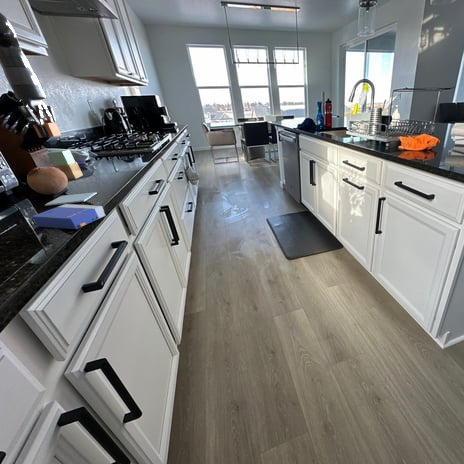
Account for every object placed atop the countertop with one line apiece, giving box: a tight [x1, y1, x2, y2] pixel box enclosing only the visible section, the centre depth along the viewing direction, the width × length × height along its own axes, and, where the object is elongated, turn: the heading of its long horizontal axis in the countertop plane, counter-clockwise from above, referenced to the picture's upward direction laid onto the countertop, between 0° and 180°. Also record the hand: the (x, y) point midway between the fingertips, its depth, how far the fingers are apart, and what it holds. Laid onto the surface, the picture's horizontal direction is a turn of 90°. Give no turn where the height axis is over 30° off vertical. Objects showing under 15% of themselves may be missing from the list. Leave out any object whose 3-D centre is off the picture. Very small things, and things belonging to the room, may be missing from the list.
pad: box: [44, 191, 98, 207], centre depth 78 cm, size 10×8×1 cm
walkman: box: [31, 203, 106, 230], centre depth 62 cm, size 8×3×12 cm
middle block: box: [46, 149, 76, 166], centre depth 98 cm, size 5×5×5 cm
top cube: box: [32, 122, 62, 138], centre depth 93 cm, size 5×5×5 cm
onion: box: [26, 166, 69, 196], centre depth 82 cm, size 10×9×10 cm
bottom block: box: [51, 161, 84, 181], centre depth 101 cm, size 6×6×6 cm
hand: (50, 135), depth 94 cm, fingers closed on top cube, 4 cm apart
